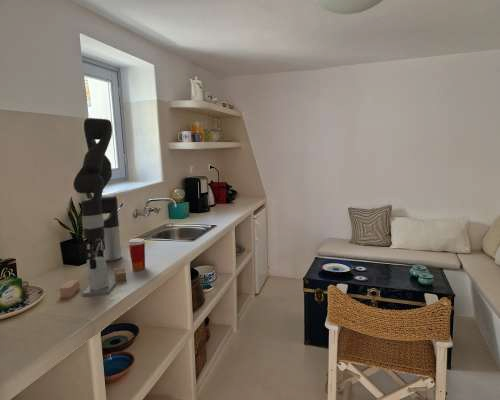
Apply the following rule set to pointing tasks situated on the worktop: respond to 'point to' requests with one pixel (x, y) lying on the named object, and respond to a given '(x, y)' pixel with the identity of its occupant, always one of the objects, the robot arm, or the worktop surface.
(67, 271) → the worktop surface
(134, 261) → the paper cup
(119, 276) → the walnut brick
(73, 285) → the terracotta brick
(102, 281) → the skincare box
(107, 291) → the slate slab
